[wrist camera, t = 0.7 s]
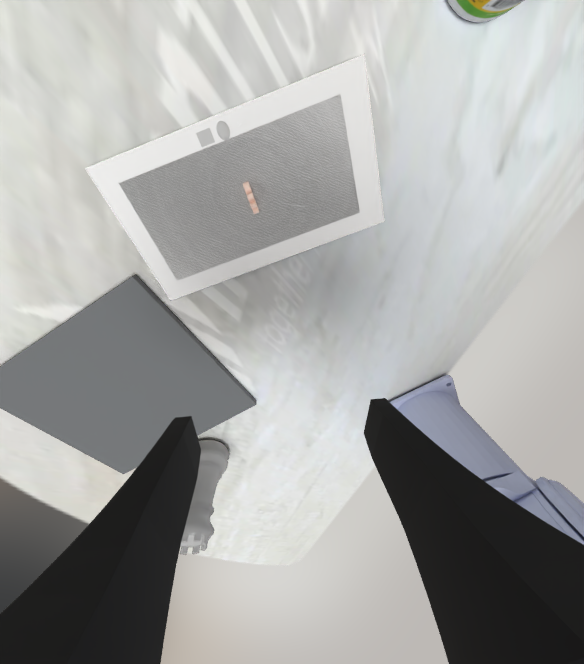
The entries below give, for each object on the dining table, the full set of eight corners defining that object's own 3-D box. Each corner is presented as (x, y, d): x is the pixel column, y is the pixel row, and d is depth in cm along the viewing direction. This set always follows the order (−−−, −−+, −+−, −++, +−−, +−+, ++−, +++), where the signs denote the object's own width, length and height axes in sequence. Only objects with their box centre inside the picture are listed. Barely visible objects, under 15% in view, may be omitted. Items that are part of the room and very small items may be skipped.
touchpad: (377, 219, 17) (392, 223, 15) (175, 294, 18) (165, 307, 16) (356, 63, 13) (373, 42, 11) (96, 169, 14) (71, 166, 12)
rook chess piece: (211, 469, 27) (196, 564, 20) (175, 454, 25) (145, 553, 18) (238, 448, 26) (232, 541, 19) (203, 430, 24) (182, 527, 17)
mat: (256, 400, 23) (256, 404, 22) (125, 469, 25) (123, 474, 25) (135, 274, 16) (132, 276, 16) (-27, 385, 18) (-34, 389, 18)
